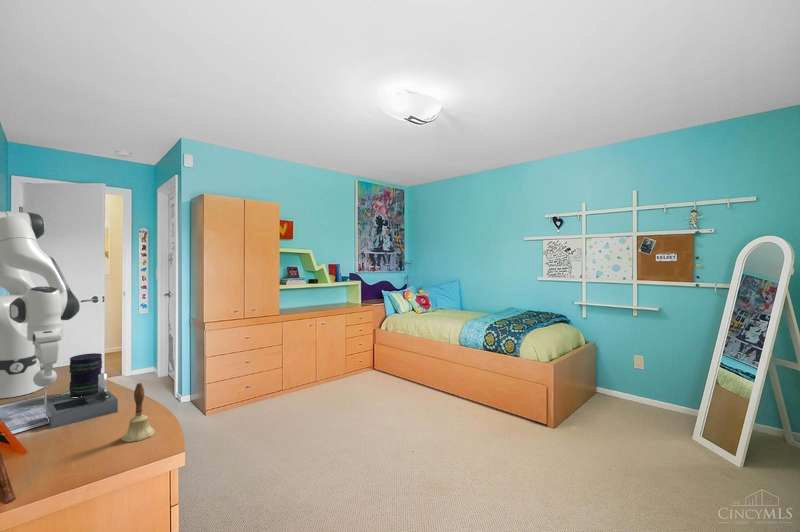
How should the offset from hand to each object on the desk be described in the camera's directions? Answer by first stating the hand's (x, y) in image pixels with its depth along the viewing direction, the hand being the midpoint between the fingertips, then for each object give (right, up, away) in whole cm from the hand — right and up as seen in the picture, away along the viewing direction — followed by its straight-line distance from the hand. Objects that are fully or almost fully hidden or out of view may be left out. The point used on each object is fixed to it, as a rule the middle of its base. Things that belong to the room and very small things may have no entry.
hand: (45, 373), depth 127 cm
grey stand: (+14, -14, -1) cm, 20 cm away
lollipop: (-1, -14, 0) cm, 14 cm away
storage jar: (-2, -14, +18) cm, 23 cm away
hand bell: (+43, -15, -15) cm, 48 cm away
